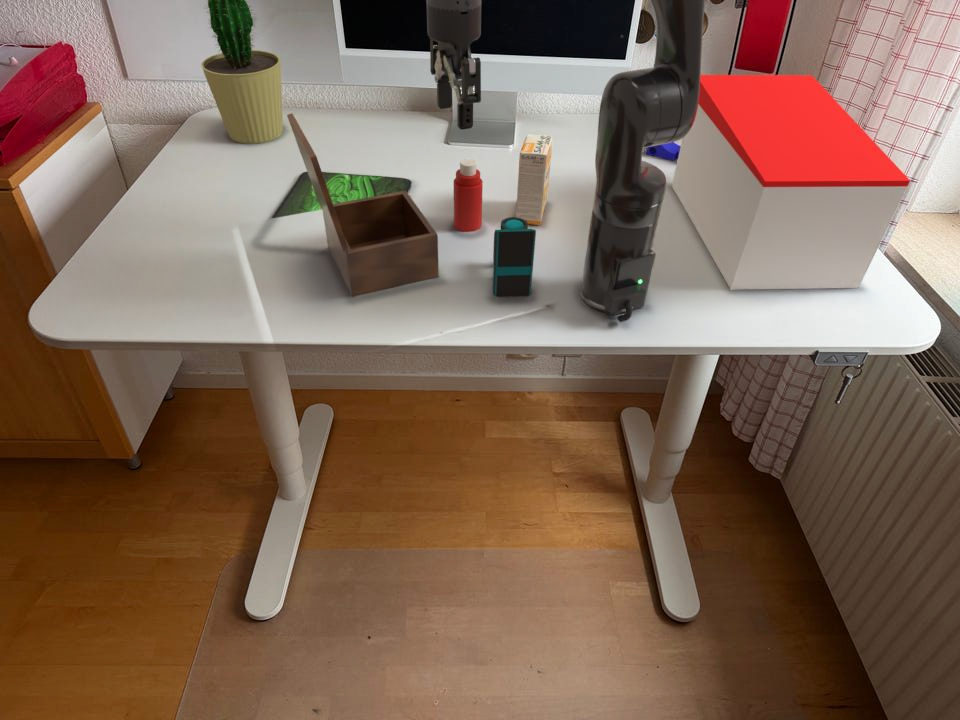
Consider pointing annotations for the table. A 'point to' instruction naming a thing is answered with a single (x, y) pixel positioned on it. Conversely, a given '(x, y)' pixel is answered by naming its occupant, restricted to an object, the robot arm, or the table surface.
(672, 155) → the cable clip
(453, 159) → the table surface
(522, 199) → the supplement box
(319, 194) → the chest lid
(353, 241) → the chest
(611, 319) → the table surface
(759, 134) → the red-topped white box
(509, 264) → the black and teal battery
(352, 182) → the mouse mat
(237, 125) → the potted cactus
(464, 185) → the ketchup bottle
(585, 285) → the robot arm
